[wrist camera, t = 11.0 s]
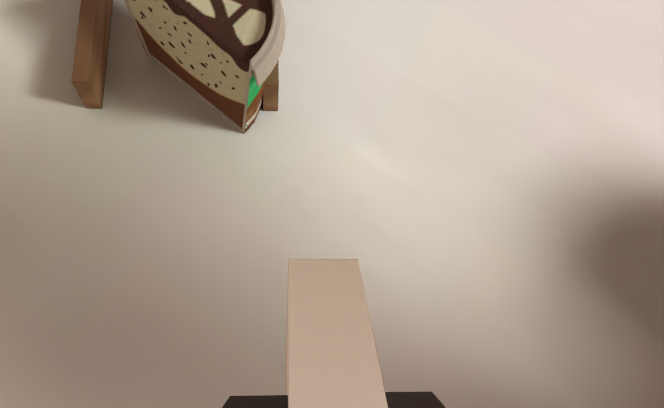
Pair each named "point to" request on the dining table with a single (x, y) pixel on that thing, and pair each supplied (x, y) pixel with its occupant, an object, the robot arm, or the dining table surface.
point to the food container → (215, 48)
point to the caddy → (95, 49)
